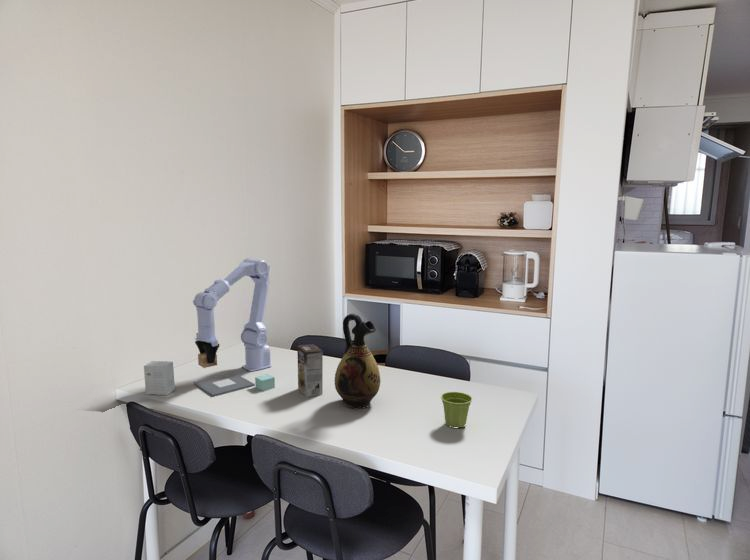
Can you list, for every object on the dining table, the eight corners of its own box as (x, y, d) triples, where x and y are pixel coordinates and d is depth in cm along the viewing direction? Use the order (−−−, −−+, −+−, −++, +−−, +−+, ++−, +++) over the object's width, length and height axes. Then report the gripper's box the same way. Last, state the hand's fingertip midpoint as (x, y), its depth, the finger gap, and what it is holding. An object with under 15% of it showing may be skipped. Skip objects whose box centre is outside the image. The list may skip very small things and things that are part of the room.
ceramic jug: (389, 400, 169) (390, 314, 164) (362, 416, 156) (363, 323, 152) (349, 389, 178) (349, 308, 174) (321, 403, 166) (320, 316, 161)
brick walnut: (211, 361, 187) (211, 351, 186) (217, 365, 183) (216, 354, 182) (198, 364, 183) (197, 354, 183) (204, 368, 180) (203, 357, 179)
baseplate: (234, 374, 193) (234, 372, 193) (254, 385, 182) (254, 383, 181) (194, 384, 183) (193, 382, 182) (212, 396, 171) (212, 394, 171)
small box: (175, 389, 177) (173, 361, 175) (167, 395, 171) (165, 366, 170) (154, 388, 178) (152, 360, 176) (145, 394, 172) (143, 365, 171)
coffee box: (297, 388, 179) (296, 345, 176) (314, 385, 182) (313, 343, 179) (305, 397, 171) (305, 352, 168) (323, 394, 174) (322, 349, 171)
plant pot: (444, 415, 157) (444, 389, 156) (473, 420, 154) (474, 394, 152) (436, 428, 149) (437, 400, 147) (468, 433, 145) (469, 405, 144)
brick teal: (267, 384, 183) (267, 373, 183) (274, 387, 180) (274, 377, 179) (255, 387, 180) (255, 376, 180) (262, 391, 176) (262, 380, 176)
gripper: (187, 323, 183) (189, 358, 186) (203, 330, 173) (205, 368, 175) (206, 320, 188) (207, 354, 190) (222, 327, 177) (224, 364, 180)
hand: (207, 360), depth 183 cm, fingers closed on brick walnut, 5 cm apart
